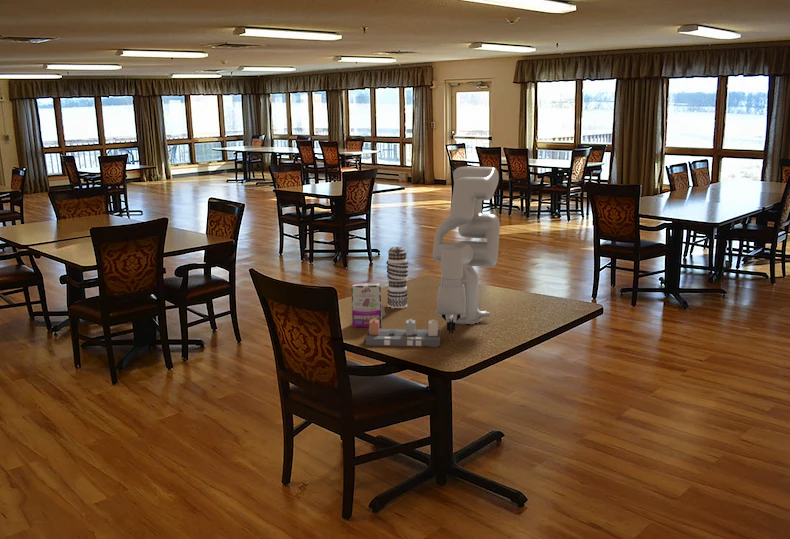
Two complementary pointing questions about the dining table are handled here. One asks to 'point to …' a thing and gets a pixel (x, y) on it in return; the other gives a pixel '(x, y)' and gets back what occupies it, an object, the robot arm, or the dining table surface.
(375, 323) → the slider rust
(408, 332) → the slider grey
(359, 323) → the candy bar box
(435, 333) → the slider ivory
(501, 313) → the dining table surface
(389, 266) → the decorative candle
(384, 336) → the switch unit
